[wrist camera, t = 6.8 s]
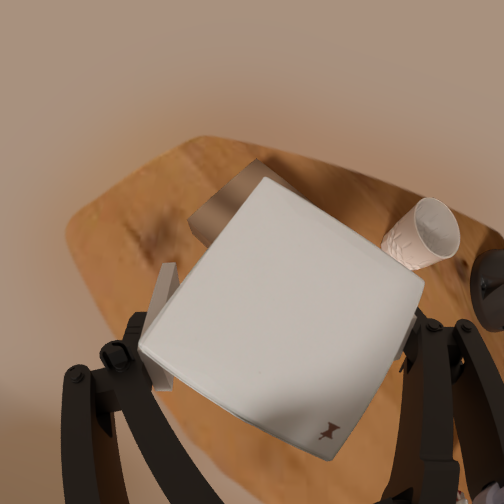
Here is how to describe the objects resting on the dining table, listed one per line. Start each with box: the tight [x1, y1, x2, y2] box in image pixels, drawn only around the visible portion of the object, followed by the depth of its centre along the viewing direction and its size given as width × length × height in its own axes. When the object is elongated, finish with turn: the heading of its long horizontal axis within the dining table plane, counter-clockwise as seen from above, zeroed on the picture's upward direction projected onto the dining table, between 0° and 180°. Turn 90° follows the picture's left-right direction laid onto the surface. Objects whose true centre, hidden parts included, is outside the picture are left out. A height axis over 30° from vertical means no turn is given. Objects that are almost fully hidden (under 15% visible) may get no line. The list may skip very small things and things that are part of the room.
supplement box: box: [138, 177, 425, 461], centre depth 14 cm, size 7×7×13 cm
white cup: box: [381, 197, 460, 271], centre depth 33 cm, size 8×8×10 cm
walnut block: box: [187, 158, 317, 248], centre depth 35 cm, size 12×12×5 cm
